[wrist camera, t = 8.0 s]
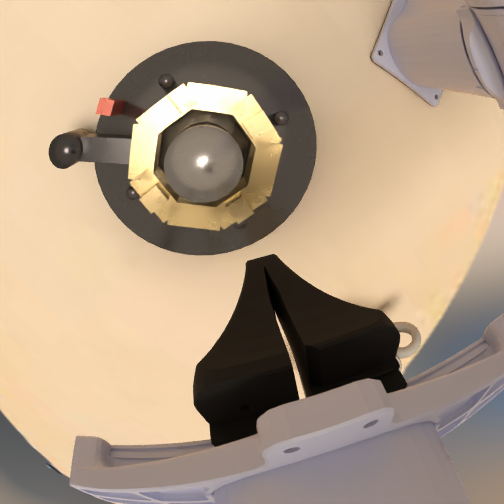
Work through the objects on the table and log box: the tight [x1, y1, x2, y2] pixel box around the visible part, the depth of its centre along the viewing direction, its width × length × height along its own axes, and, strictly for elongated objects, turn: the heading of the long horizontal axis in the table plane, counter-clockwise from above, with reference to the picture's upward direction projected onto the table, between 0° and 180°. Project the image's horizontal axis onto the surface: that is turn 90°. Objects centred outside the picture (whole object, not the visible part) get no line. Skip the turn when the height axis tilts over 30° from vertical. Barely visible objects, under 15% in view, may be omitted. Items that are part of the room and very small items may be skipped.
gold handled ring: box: [49, 82, 283, 231], centre depth 16 cm, size 15×9×3 cm, turn 78°
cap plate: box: [95, 41, 316, 255], centre depth 17 cm, size 16×16×5 cm
